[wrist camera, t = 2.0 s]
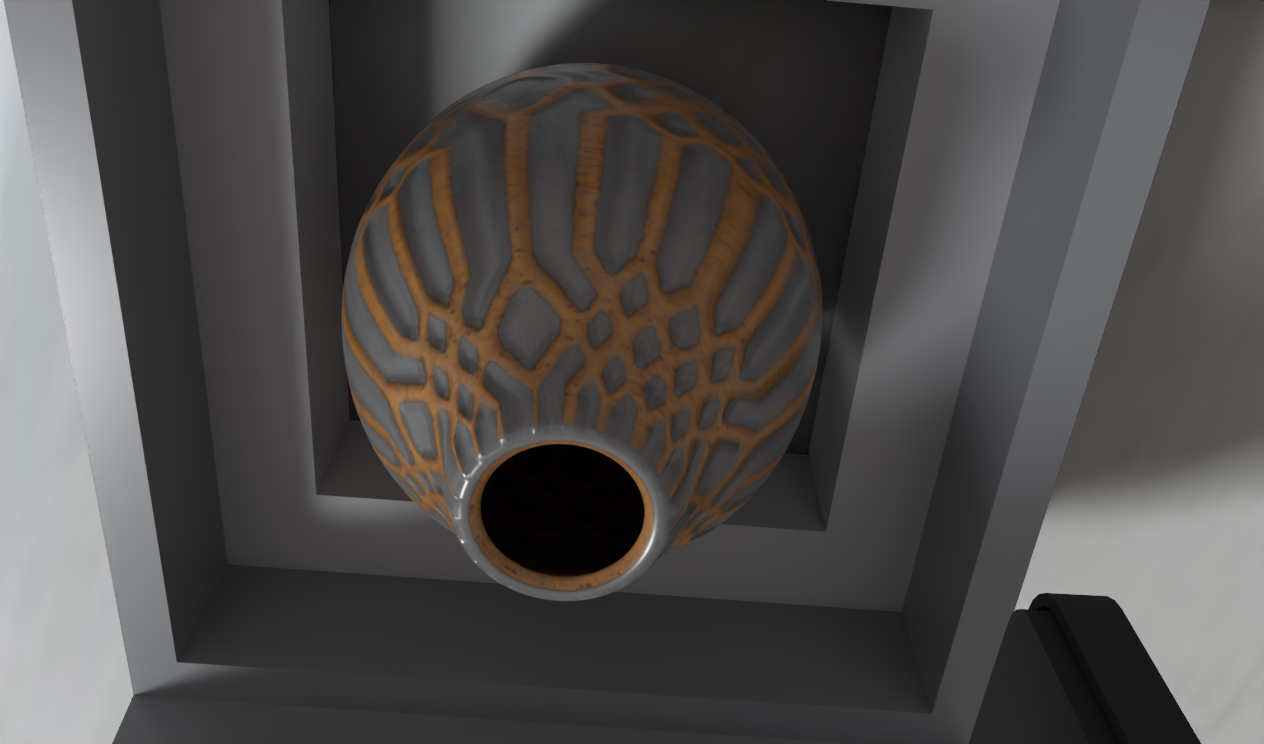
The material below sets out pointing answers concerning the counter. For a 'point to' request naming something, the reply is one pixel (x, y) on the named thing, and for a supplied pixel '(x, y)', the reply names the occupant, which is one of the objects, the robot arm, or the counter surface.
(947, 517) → the equipment case
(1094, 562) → the counter surface
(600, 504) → the vase
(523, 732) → the case lid
